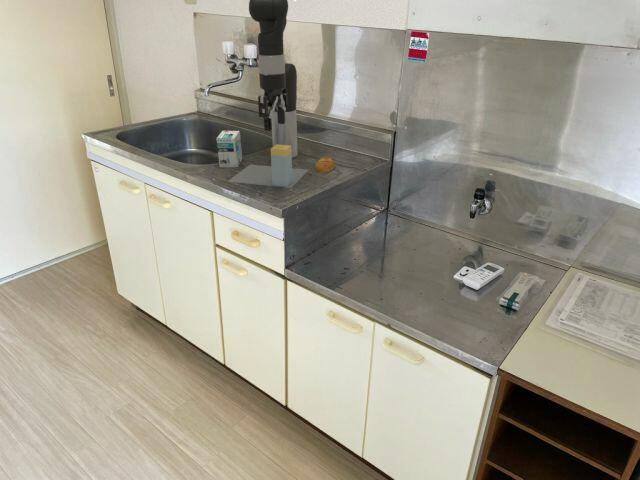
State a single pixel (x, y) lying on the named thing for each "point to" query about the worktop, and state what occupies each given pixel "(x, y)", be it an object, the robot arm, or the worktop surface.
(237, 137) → the light bulb box
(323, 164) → the pastry
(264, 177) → the mat
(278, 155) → the block
